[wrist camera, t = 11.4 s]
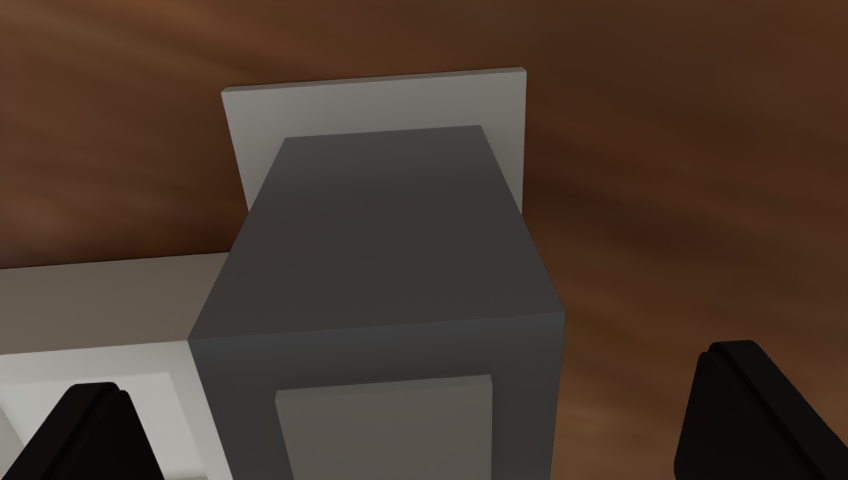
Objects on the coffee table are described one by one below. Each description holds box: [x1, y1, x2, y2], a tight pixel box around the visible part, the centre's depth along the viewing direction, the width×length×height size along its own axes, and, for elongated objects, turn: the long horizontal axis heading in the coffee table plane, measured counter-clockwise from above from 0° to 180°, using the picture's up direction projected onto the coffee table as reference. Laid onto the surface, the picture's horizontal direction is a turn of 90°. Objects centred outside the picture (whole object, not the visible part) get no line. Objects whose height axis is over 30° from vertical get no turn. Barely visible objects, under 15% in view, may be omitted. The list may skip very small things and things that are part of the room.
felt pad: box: [221, 67, 527, 215], centre depth 16 cm, size 8×8×1 cm
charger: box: [187, 125, 566, 480], centre depth 12 cm, size 5×5×8 cm
